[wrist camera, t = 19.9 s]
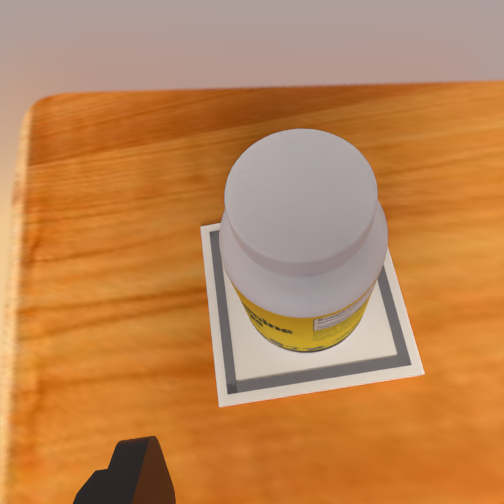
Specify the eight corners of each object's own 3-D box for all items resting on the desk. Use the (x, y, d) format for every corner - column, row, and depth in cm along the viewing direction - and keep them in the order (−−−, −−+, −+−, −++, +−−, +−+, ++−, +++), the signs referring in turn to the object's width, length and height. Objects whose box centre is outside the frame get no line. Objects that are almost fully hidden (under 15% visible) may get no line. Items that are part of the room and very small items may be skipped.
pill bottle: (224, 282, 25) (163, 168, 15) (319, 224, 25) (323, 77, 15) (287, 382, 22) (266, 328, 12) (390, 314, 23) (451, 210, 13)
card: (372, 197, 26) (373, 194, 26) (423, 375, 22) (425, 373, 21) (201, 228, 26) (199, 225, 26) (220, 407, 22) (218, 406, 22)
